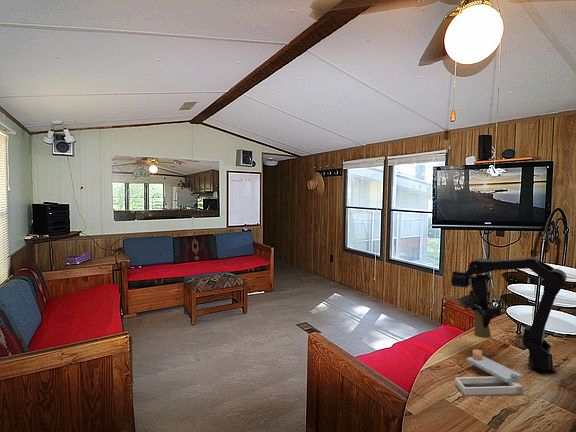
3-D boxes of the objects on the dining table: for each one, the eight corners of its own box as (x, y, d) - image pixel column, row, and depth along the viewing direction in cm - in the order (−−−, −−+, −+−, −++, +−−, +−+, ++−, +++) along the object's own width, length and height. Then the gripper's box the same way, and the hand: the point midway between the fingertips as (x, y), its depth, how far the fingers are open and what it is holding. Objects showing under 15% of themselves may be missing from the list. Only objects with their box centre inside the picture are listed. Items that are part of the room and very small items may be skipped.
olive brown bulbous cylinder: (493, 337, 131) (491, 311, 131) (477, 338, 132) (476, 311, 132) (486, 332, 137) (485, 306, 137) (471, 332, 138) (470, 307, 138)
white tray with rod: (510, 382, 114) (509, 375, 114) (523, 394, 107) (522, 386, 107) (455, 384, 115) (454, 377, 115) (464, 395, 108) (464, 388, 108)
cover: (524, 379, 110) (524, 367, 110) (509, 384, 108) (508, 371, 108) (480, 357, 128) (479, 347, 128) (466, 361, 126) (465, 350, 126)
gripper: (449, 285, 144) (452, 319, 144) (472, 296, 125) (475, 335, 125) (474, 283, 143) (477, 317, 144) (501, 294, 125) (503, 333, 125)
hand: (482, 325), depth 134 cm, fingers closed on olive brown bulbous cylinder, 4 cm apart
